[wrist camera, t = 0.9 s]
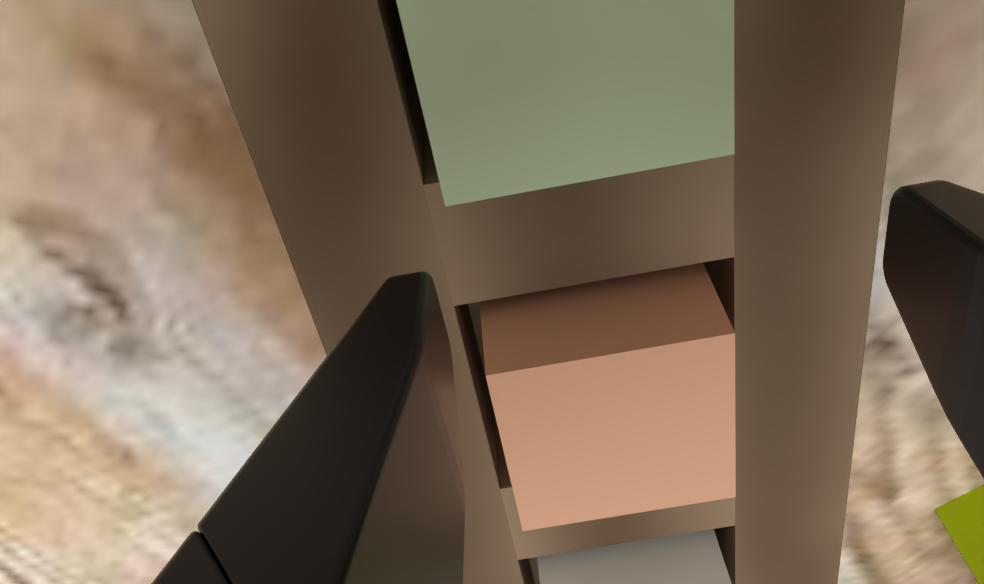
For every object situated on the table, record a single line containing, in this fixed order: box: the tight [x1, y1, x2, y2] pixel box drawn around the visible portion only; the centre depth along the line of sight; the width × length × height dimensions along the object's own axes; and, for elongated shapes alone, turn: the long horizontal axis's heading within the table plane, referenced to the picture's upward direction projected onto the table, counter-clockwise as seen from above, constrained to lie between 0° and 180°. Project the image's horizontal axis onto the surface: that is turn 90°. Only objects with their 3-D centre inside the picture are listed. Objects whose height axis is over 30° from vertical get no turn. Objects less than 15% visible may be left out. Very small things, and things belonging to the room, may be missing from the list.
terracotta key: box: [480, 263, 736, 531], centre depth 20 cm, size 5×5×3 cm
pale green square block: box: [396, 0, 735, 207], centre depth 14 cm, size 5×5×3 cm
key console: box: [192, 0, 905, 584], centre depth 22 cm, size 12×28×4 cm, turn 10°
